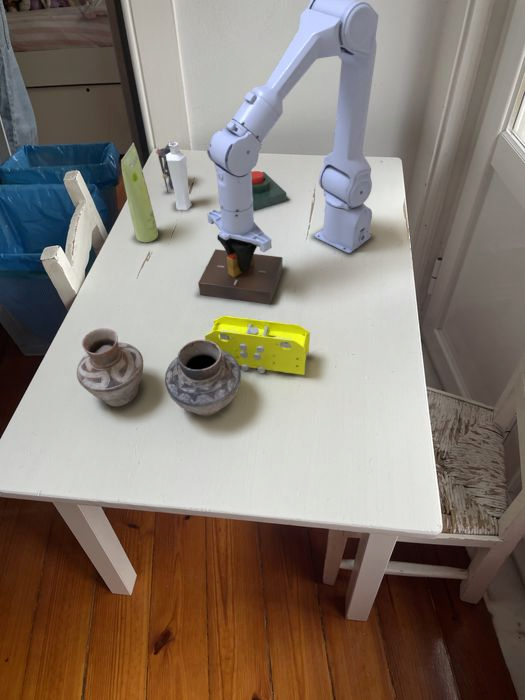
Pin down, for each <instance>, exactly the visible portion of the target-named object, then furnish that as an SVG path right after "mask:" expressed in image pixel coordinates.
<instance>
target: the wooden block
mask: <svg viewBox="0 0 525 700" xmlns="http://www.w3.org/2000/svg"><path fill="white" fill-rule="evenodd" d="M254 254H255V253H254ZM254 254H253V257H252V261H251V265H250V267H251V266H252V265H254ZM227 265H228V274H229V275H231V276H232V277H236V276H237V275H239V274H240V273H242V272H241V271H240V269H239V264H238V258H237V255H236V252H234V253H233V254H230V255H229V256H228V257H227Z"/></svg>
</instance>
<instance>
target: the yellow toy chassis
mask: <svg viewBox="0 0 525 700" xmlns="http://www.w3.org/2000/svg"><path fill="white" fill-rule="evenodd" d="M310 335H311V332H310V331H309V330H308V329H306V328H304V327H303V326H301V325H300V324H295V323H287V322H278V321H271V320H263V319H256V318H255V319H254V318H246V317H239V316H229V315H222V316H220V317H218V318H215V319H213V325H212V328H211V331H210V332H208V333H207V334H205V335H204V338H205V339H204V340H209V341H212V342H214V343H216V344H217V345H218V346H219V348H220V349H221V350H224V351H226V352H228V353H230V354H231V355H232V356H233V357H234V358H235V359H236V360H237V361H238V363H239V366H240V369H241V371H245V372H247V371H249V368H251V369H252V368H253V369H257V372H258V373H260V374H264V373H265V371H266V370H267V371H273V372H281V373H284V374H293V375H302V376H304V375H305V374H306V373H305V371H306V361H307V355H309V352H310V338H311V337H310Z"/></svg>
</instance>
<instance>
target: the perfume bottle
mask: <svg viewBox="0 0 525 700" xmlns="http://www.w3.org/2000/svg"><path fill="white" fill-rule="evenodd" d="M170 142H171V143H170ZM170 142H169V143H168V144H169V146H170V153H168V154H166V159H167V163H168V168H169V172H170V176H171V180H172V184H173V188H174V189H173V191H174V195H175V207H176V210H178V211H187V210H189V209H190V208H191V207H192V202H191V200H190V192H189V177H188V164H187V155H186V154H185V153H182V152H181V151H180V150H179V143H178V142H176V141H170ZM179 151H180V152H179Z"/></svg>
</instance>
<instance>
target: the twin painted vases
mask: <svg viewBox="0 0 525 700" xmlns="http://www.w3.org/2000/svg"><path fill="white" fill-rule="evenodd" d="M118 338H119V337H118V334H117V332H116V331H114V330H113V329H111V328H104V327H101V328H96V329H93V330H91V331H89V332H88V333H87V334H86V335H85V336H84V337H83V338H82V341H81V347H82V349H83V350H84V352H85V355H84V356H82V358H81V359H80V361H79V363H78V364H77V368H76V378H77V381H78V383H79V385H81V386H82V388H83V389H85V390H86V391H87V392H88V393H90V394H91V395H93V396H94V397H96V398H97V399H99V400H103V402H104V403H105V404H107V406H112V407H122V406H125V405H127V404H130V402H132V401H133V400H134V399H135V397H136V396H137V395H138V392H139V385H140V383H141V380H142V377H143V372H144V358H143V355H142V353H141V352H140V350H139V349H138V348H136V346H134V345H132V344H129V343H126V342H119V341H118ZM241 380H242V368H241V366H239V363H238V361H237V360H236V359H235V358H234V357H233V356H232V355H231V354H230V353H228V352H226V351H224V350H221V349H220V348H219V346H218V345H217V344H216V343H214V342H212V341H209V340H205V339H195V340H191V341H189V342H187V343H186V344H184V345H183V346H182V347H181V348H180V349H179V351H178V352H177V357H175V358H174V359H173V360H172V361H171V362H170V363H169V364H168V366H167V369H166V371H165V375H164V385H165V388H166V391H167V392H168V395H169V397H170V398H171V400H172V401H173V402H174V403H175V404H177V405H178V406H179V407H180V408H182V409H184V410H185V411H188V412H191V413H195V414H196V415H199V416H211V415H214V414H217V413H218V412H220V411H221V410H222V409H223V408H225V407H227V405H229V404H230V403H231V402H232V401H233V399H234V398H235V396H236V395H237V393H238V390H239V388H240V384H241Z"/></svg>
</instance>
